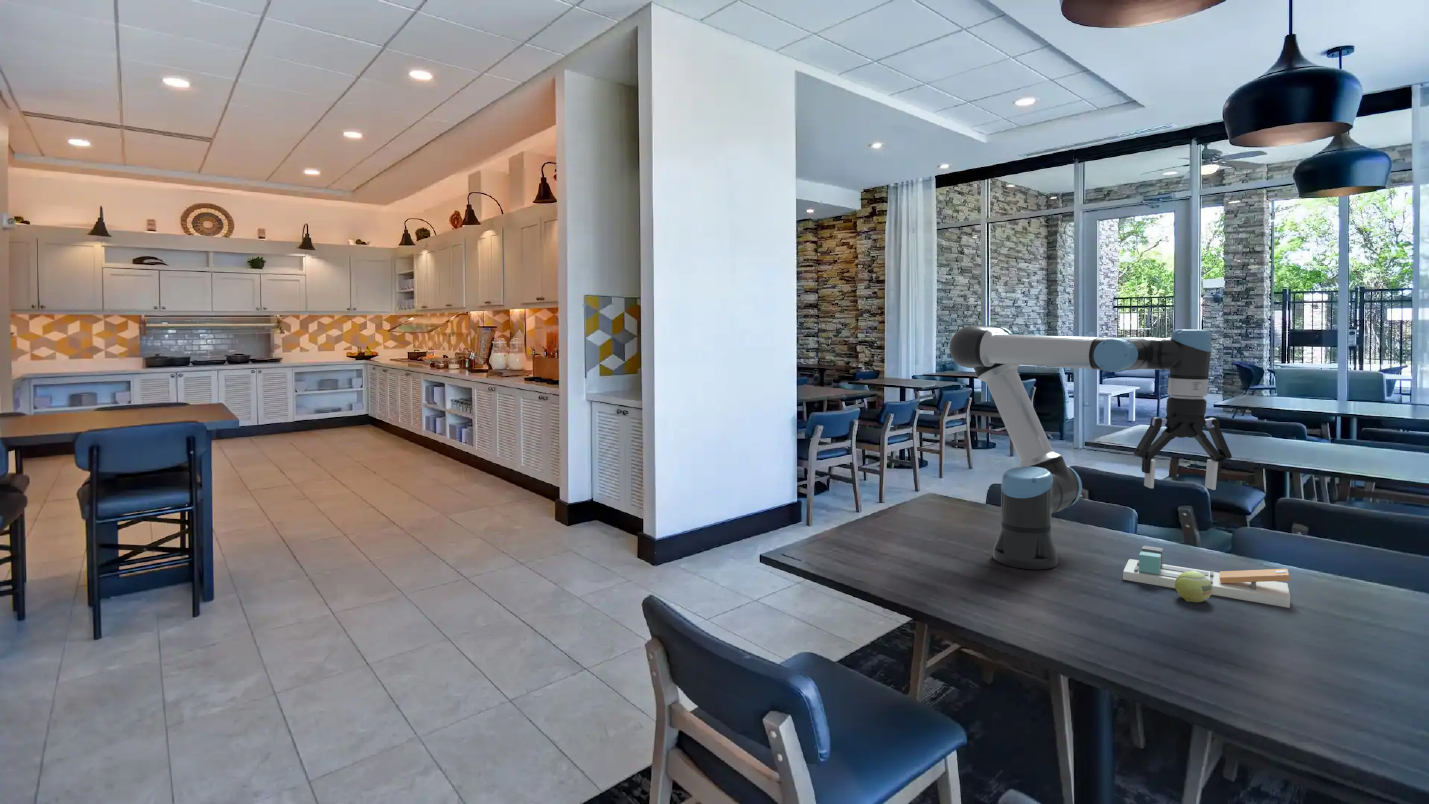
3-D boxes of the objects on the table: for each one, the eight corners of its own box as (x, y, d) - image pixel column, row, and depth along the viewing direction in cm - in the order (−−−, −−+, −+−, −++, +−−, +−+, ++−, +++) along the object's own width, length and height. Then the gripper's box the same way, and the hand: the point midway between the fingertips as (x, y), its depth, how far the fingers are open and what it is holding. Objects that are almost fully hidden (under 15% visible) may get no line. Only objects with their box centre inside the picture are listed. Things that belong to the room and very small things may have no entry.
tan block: (1220, 583, 151) (1219, 577, 151) (1221, 576, 155) (1219, 570, 155) (1290, 580, 143) (1288, 574, 143) (1288, 574, 147) (1287, 567, 147)
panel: (1122, 579, 160) (1123, 565, 160) (1128, 566, 169) (1129, 553, 168) (1289, 607, 142) (1290, 592, 141) (1286, 592, 150) (1287, 577, 150)
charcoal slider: (1141, 564, 163) (1142, 548, 163) (1142, 561, 165) (1143, 545, 165) (1161, 568, 161) (1162, 551, 160) (1162, 564, 163) (1163, 548, 163)
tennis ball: (1201, 576, 143) (1215, 569, 146) (1166, 572, 148) (1181, 565, 152) (1205, 606, 142) (1219, 599, 146) (1170, 601, 148) (1185, 594, 152)
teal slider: (1138, 571, 159) (1139, 554, 158) (1140, 567, 161) (1140, 551, 161) (1159, 574, 156) (1159, 557, 156) (1160, 570, 159) (1161, 554, 158)
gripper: (1138, 398, 154) (1131, 490, 156) (1256, 399, 151) (1247, 492, 154) (1121, 394, 161) (1115, 482, 163) (1233, 396, 159) (1225, 485, 161)
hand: (1179, 487), depth 159 cm, fingers open, 13 cm apart
